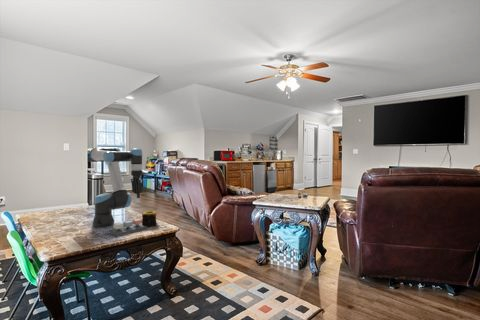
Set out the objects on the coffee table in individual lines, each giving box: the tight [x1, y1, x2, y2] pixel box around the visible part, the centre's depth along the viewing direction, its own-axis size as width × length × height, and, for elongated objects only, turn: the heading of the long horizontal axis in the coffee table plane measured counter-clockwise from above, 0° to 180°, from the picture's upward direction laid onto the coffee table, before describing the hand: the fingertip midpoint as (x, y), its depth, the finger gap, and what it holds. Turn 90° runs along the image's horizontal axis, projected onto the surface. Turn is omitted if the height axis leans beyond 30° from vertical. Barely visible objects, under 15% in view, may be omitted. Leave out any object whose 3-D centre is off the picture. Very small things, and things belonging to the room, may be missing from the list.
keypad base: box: [108, 224, 148, 237], centre depth 194 cm, size 12×22×2 cm, turn 140°
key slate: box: [122, 220, 133, 229], centre depth 194 cm, size 5×5×5 cm
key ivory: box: [113, 222, 124, 231], centre depth 188 cm, size 5×5×5 cm
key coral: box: [132, 218, 142, 227], centre depth 199 cm, size 5×5×5 cm
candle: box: [141, 210, 157, 228], centre depth 209 cm, size 10×10×10 cm
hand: (137, 202), depth 199 cm, fingers closed
